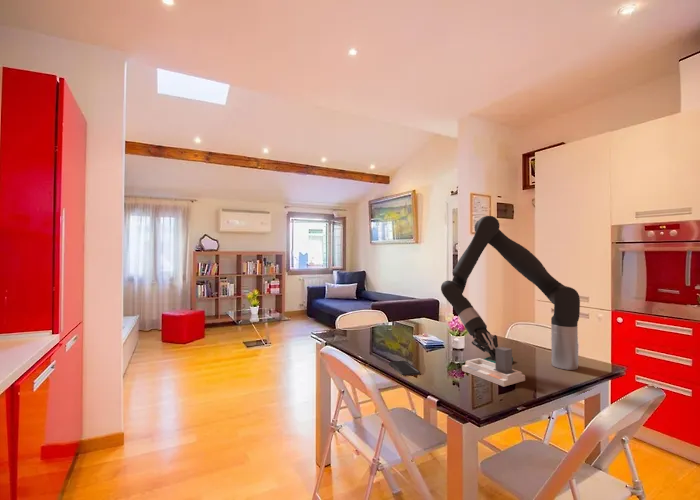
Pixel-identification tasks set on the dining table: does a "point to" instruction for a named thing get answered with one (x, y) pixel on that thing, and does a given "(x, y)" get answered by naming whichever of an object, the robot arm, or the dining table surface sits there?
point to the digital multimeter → (492, 359)
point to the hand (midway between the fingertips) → (497, 359)
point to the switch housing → (491, 372)
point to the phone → (404, 368)
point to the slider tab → (503, 360)
